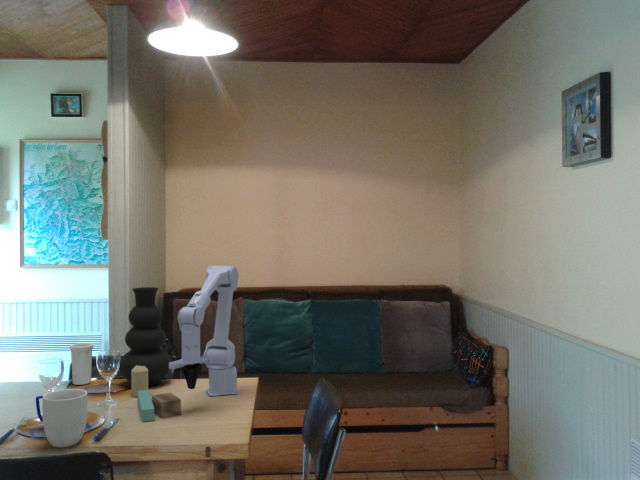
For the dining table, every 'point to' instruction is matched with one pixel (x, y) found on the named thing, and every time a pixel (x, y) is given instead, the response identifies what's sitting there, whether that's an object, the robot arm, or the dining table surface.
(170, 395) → the block
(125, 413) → the dining table surface
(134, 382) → the candle
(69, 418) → the mug
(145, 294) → the vase
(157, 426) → the dining table surface
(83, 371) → the cup
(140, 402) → the teal rectangular bar
